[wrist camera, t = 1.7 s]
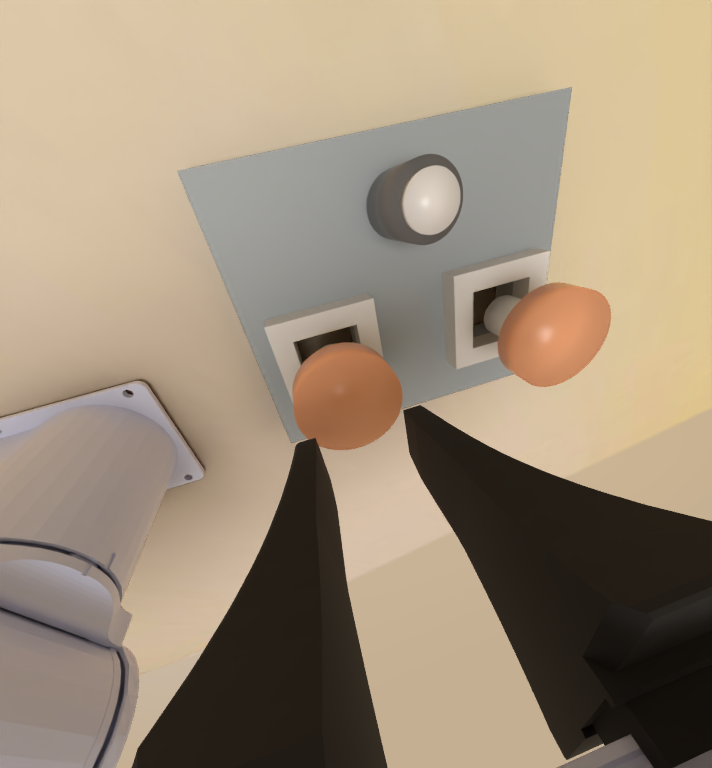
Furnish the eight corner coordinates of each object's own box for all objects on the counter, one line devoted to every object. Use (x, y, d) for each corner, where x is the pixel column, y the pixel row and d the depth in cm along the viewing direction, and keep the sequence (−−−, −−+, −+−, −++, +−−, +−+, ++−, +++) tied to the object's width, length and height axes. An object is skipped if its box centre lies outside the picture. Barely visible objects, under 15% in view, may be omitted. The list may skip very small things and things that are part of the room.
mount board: (290, 428, 21) (292, 456, 19) (187, 175, 13) (167, 166, 11) (519, 358, 23) (549, 375, 20) (545, 98, 15) (597, 75, 13)
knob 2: (464, 360, 18) (513, 398, 14) (463, 284, 16) (522, 305, 12) (532, 340, 19) (598, 371, 15) (542, 262, 16) (622, 276, 12)
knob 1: (304, 408, 17) (311, 462, 13) (277, 335, 15) (277, 375, 11) (380, 386, 18) (408, 431, 14) (366, 310, 15) (395, 341, 11)
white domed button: (372, 246, 15) (399, 254, 12) (361, 175, 14) (389, 161, 10) (427, 232, 15) (470, 236, 12) (422, 161, 14) (470, 142, 10)
